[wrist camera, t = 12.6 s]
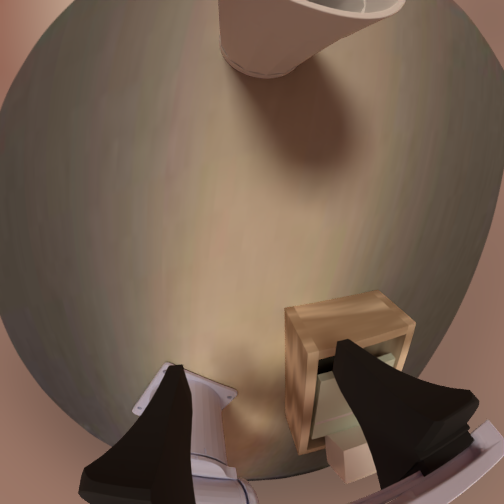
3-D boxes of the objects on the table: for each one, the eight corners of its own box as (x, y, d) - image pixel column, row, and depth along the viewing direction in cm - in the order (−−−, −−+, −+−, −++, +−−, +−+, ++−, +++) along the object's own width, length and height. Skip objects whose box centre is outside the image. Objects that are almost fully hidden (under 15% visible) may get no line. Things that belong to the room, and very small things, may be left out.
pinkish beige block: (361, 450, 22) (384, 468, 16) (327, 461, 21) (345, 484, 16) (359, 420, 23) (384, 435, 18) (324, 432, 22) (343, 451, 17)
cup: (302, 7, 15) (373, -75, 4) (320, 88, 18) (429, 39, 6) (202, 9, 14) (206, -98, 3) (214, 96, 17) (225, 12, 6)
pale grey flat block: (359, 395, 26) (373, 419, 22) (301, 412, 25) (311, 440, 21) (374, 333, 23) (395, 358, 19) (305, 351, 22) (321, 382, 18)
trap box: (355, 393, 29) (377, 429, 23) (284, 412, 28) (298, 455, 22) (375, 287, 24) (416, 322, 18) (283, 305, 23) (307, 353, 17)
